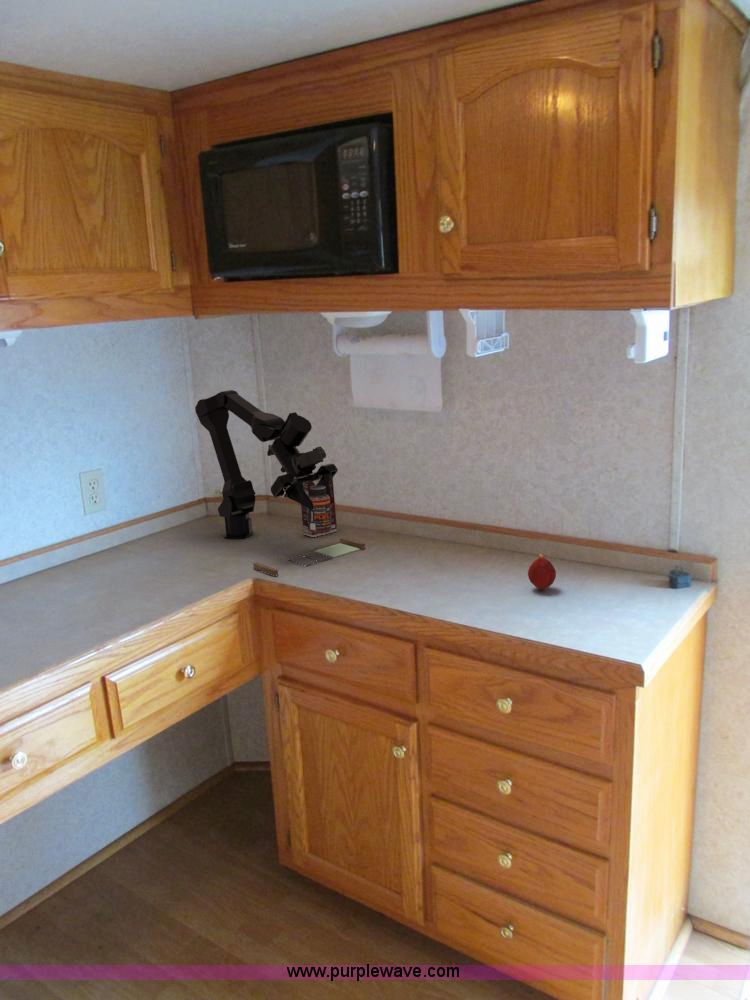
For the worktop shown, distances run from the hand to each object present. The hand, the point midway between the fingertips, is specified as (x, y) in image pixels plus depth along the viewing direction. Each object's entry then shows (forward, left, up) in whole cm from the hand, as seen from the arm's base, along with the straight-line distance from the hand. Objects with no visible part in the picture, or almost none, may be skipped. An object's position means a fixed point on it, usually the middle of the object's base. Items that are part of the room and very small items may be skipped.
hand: (322, 506), depth 205 cm
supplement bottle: (-1, +1, -7) cm, 7 cm away
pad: (+2, +5, -13) cm, 14 cm away
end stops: (-4, -1, -13) cm, 14 cm away
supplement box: (-7, +21, -13) cm, 26 cm away
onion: (+53, -22, -13) cm, 59 cm away
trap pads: (-4, -1, -13) cm, 14 cm away
